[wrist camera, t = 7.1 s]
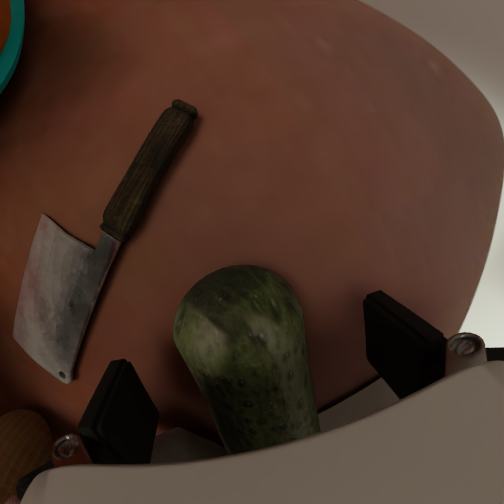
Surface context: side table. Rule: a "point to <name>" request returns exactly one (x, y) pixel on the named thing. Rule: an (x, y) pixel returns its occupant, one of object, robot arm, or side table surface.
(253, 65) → the side table surface
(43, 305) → the cleaver
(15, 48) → the toy shoe
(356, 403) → the platform
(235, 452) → the vegetable
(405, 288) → the side table surface
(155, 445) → the stone
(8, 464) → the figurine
